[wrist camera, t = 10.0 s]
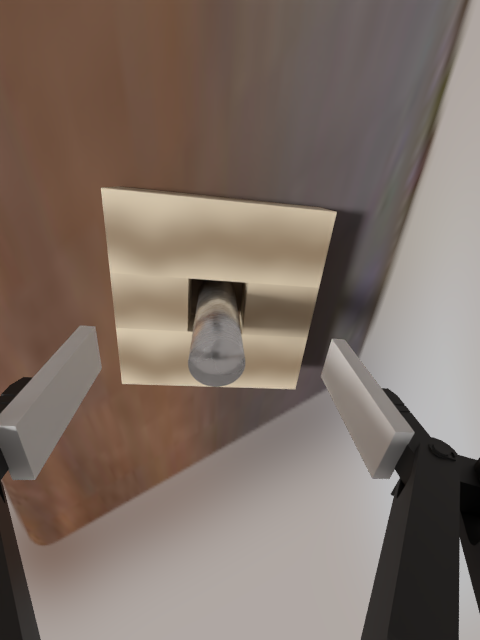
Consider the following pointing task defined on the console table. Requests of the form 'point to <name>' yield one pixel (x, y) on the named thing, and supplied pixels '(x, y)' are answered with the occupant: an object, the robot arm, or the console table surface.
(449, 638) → the robot arm
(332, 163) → the console table surface
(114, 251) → the bore block
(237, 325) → the pin
